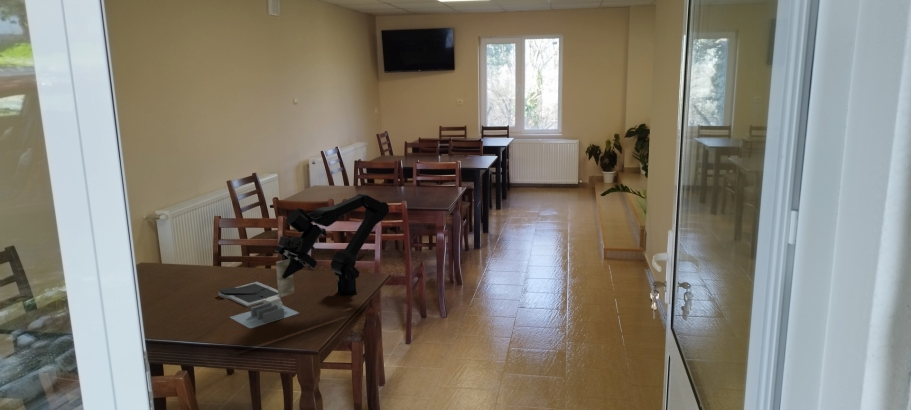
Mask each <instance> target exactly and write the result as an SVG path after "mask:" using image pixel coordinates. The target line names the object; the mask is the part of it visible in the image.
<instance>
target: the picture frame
mask: <svg viewBox="0 0 911 410" xmlns="http://www.w3.org/2000/svg"><path fill="white" fill-rule="evenodd" d="M217 294H218V297H220V298H223V299H225V300H226V299H229V300H231V301H233V302H235V303H237V304H240V305H242V306H244V307H246V308H249V307H253V306H257V305H260V304H263V299H266V298H269V297H272V296H276V297H280V296H278V289H276V288H273V287H271V286H269V285H267V284H263V283H261V282H259V281H254V282H251V283H247V284H244V285H240V286H235V287H232V286H230V287H225V288H222V289H218V293H217ZM280 298H281V297H280Z"/></svg>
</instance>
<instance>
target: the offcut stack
mask: <svg viewBox="0 0 911 410" xmlns="http://www.w3.org/2000/svg"><path fill="white" fill-rule="evenodd" d="M268 302H270V303H271V304H272V306H274V305H277V306H278V307H282V306H284V304H283V301H282V297H276V296H272V297H269V298H266V299H263V303H262V304H265V303H268Z"/></svg>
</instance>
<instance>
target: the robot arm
mask: <svg viewBox="0 0 911 410" xmlns="http://www.w3.org/2000/svg"><path fill="white" fill-rule="evenodd" d="M362 207H363V208H364V209H365V210H364V218H363V220H362V221H361V224H360V225H359V226H358V228H357V229H356V231H355V233H354V235H353V236H352V237H351V239H350V240H349V241H348V244H347V245H346V247H345V249H343V250H342V251H340V250H337V251H336V252H335V254H334V255H333V257H332V258H331V262H330V269H331V271H332V272H333V273H334V275H335V276H337V280H336V290H337V293H338V295H339V296H346V295H356V294H358V292H357V291H358V290H357V279H358V278H359V276H360V271H359V270H358V269H357V268H356V263H357V256H358V254H359V252H360V250H361V249H362V247H363V246H364V245H365V242H366V241H367V239H369V236H370V235H371V233H372V231H373V230H374V228H375V227H376V225H377V224H379V223H380V222H382V221H383V220H384V219H385V218H386V217H387V215H388V214H389V212H390V207H389V204H388V203H387V202H385V201H380V200H378V199H376V198H373V197H372V196H370V195H368V194H365V193H358V194H357V195H355V196H352V197H350V198H348V199H346V200H343V201H341V202H339V203H336V204H334V205H331V206H323V207H318V208H316V209H314V210H313V212H310V213H306V212H305V211H304V209H303V208H300V207H297V209H296V210H293V211H292V212H291V213H289V214H288V215H287V217H286V219H285V222H286V223H287V224H288V225H289V226H290V227H291V228H293V230H295V231H296V232H298V233H301V234H300V235H299V236H291V237H286V236H283V235H280V238H279V241H278V244H277V246H276V247H275V249H274V252H276V254H277V253H278V254H279V255H280V257H281V258H282V259H281V260H286V259H290V264H289V265H288V267H287V269H286V271H285V272H284V274H283V276H282V278H284V279H285V278H287V277H289V276H290V275H292V274H293V275H294V274H295V273H297V272H299V271H301V270H303V269H305V268H306V265H308V268H309V269H312V270H314V269H315V268H316V266H318V262H317V260H316V259H315V258H314V257H312V256H311V255H310V254H309V252H310V251H311V250H312V251H314V249H315V246H314V245H315V244H316V243H317V241H318V239H319V238H320V236H322V237H327V232H326V231H327V230H326V227H327V228H328V227H330V226H331V225H333V224H334V223H336V222H337V221H338V220H339V218H341V217H342V216H344V215H347V214H349V213H351V212H353V211H355V210H358V209H360V208H362ZM320 226H322V227H320ZM323 227H325V228H323Z"/></svg>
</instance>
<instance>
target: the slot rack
mask: <svg viewBox="0 0 911 410" xmlns="http://www.w3.org/2000/svg"><path fill="white" fill-rule="evenodd" d="M298 314H299V312H298V311H297V310H295V309H292V308H290V307H287V306H285V305H283V306H282V307H278V306H277V305H274V306H272V304H271V303H270V302H268V303H265V304H263V303H260V304H257V305H253V306H250V311H247V312H242V313H239V314H235V315H233V316H229V318H230V319H232V320H233V321H236V322H237V323H239V324H241V325H242V326H244V327H246V328H248V329H254V328H256V327H259V326H263V325H266V324H268V323H269V324H270V323H272V322H275V321H279V320H281V319H286V318H288V317H292V316H295V315H298Z"/></svg>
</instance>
